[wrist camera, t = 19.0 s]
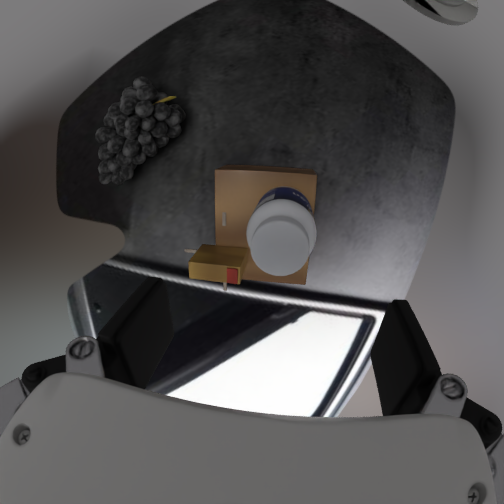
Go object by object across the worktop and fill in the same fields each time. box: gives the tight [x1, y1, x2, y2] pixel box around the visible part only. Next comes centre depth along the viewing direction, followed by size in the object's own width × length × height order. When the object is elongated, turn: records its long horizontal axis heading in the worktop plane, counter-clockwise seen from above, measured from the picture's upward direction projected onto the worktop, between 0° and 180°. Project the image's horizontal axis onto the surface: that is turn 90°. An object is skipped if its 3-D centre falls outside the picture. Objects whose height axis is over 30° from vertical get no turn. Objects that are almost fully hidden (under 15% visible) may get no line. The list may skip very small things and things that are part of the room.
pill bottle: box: [246, 186, 317, 276], centre depth 22 cm, size 5×5×10 cm
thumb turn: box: [188, 244, 248, 284], centre depth 27 cm, size 5×2×5 cm, turn 87°
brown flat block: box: [185, 165, 317, 291], centre depth 31 cm, size 14×14×5 cm
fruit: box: [95, 76, 186, 185], centre depth 27 cm, size 9×8×15 cm
